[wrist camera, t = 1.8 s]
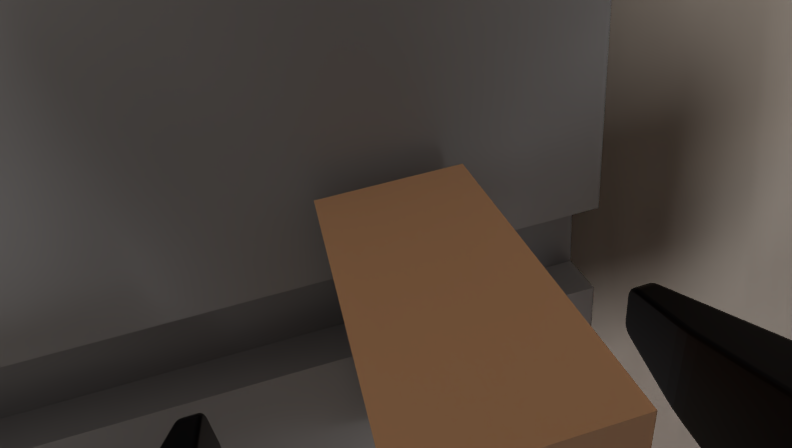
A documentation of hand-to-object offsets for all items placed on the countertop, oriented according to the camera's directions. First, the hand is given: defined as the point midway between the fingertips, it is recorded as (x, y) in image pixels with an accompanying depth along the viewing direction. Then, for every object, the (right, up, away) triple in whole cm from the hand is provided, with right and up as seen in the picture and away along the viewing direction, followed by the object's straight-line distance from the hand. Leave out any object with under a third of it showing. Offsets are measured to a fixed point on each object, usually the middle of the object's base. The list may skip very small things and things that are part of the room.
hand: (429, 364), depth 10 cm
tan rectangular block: (-1, +1, +2) cm, 2 cm away
